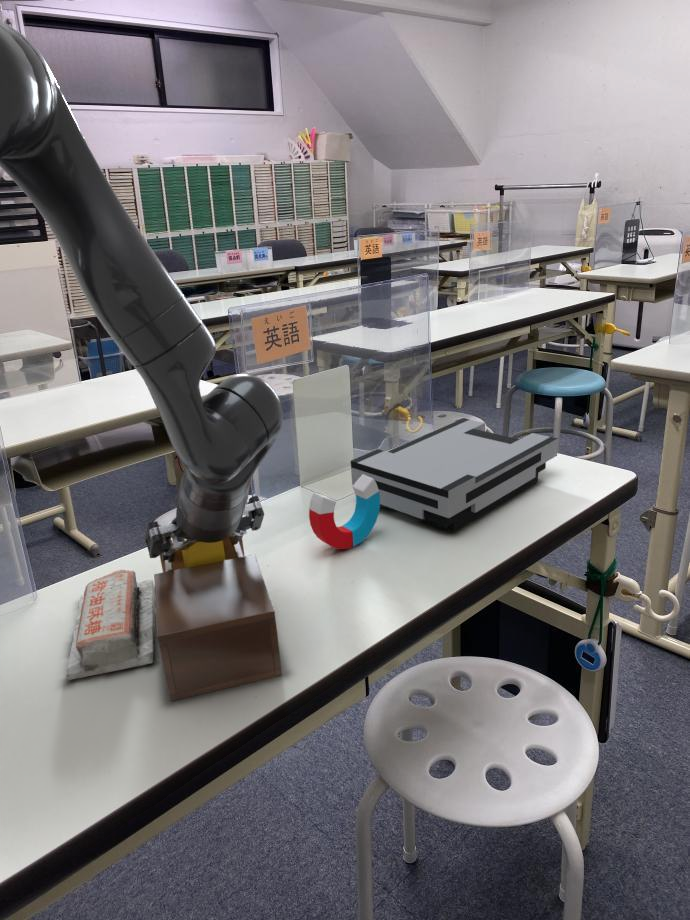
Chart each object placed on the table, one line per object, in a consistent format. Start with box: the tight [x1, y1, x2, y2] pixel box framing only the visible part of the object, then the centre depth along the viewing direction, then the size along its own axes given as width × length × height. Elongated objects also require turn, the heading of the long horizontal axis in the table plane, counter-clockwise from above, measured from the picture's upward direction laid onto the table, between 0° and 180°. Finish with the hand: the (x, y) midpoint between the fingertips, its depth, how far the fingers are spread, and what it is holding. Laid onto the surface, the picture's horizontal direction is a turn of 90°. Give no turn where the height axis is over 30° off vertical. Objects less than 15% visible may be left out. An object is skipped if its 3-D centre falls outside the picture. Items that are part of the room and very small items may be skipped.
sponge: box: [182, 539, 225, 568], centre depth 91 cm, size 4×5×9 cm
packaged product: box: [65, 569, 156, 681], centre depth 88 cm, size 18×5×10 cm
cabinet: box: [153, 554, 283, 702], centre depth 81 cm, size 14×13×9 cm
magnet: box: [308, 474, 381, 550], centre depth 104 cm, size 12×3×10 cm, turn 128°
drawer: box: [159, 537, 246, 573], centre depth 93 cm, size 17×11×7 cm
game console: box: [350, 417, 559, 534], centre depth 121 cm, size 21×32×8 cm, turn 134°
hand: (201, 546), depth 91 cm, fingers open, 8 cm apart
